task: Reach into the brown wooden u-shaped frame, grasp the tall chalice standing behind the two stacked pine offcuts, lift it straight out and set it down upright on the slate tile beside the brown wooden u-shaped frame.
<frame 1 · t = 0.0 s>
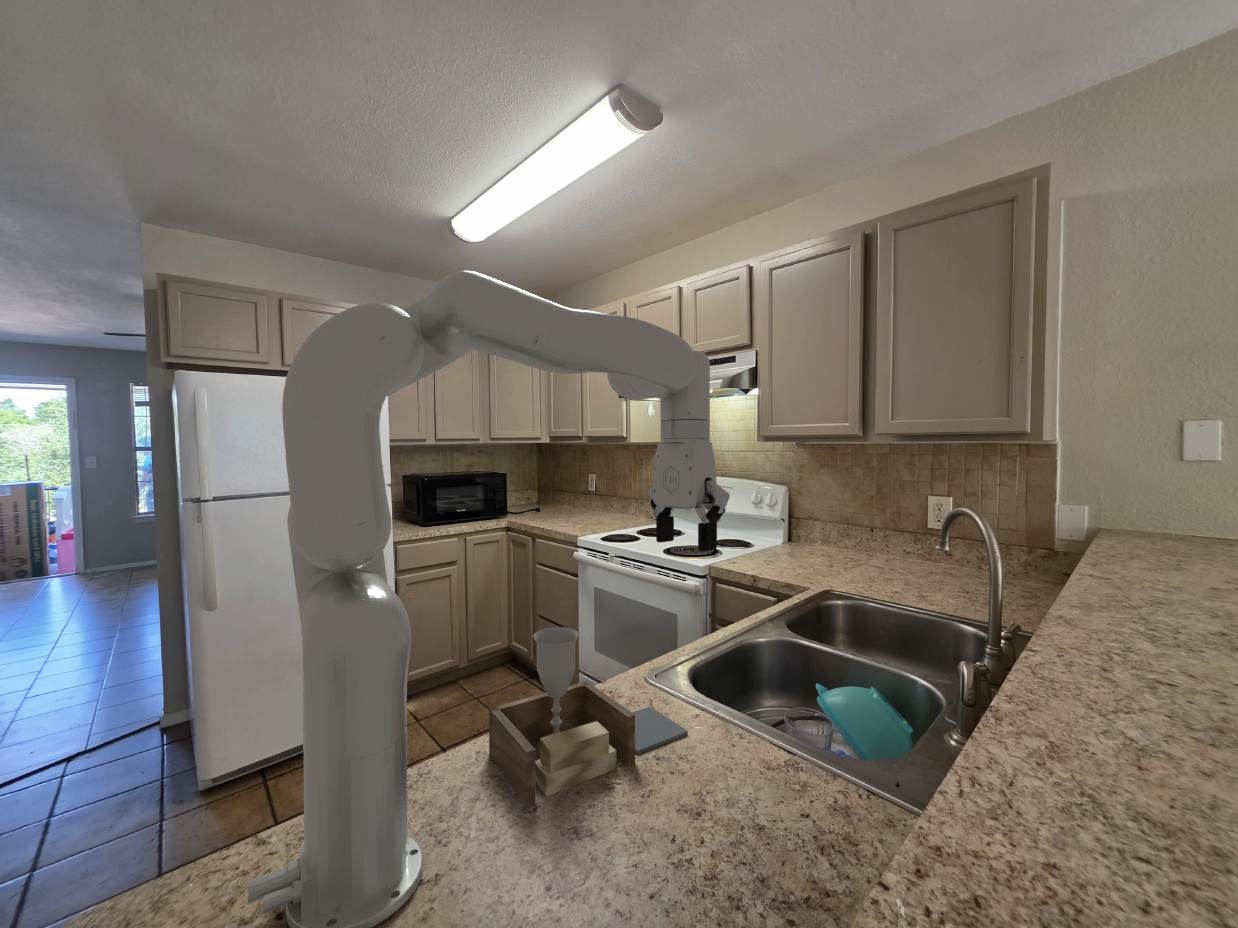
hand: (685, 545, 78), 31 cm above the countertop, tool pointing down, fingers open, 9 cm apart
offcut upper: (574, 756, 72), point 3 cm above the countertop, touching offcut lower
offcut lower: (575, 776, 72), on the countertop, touching offcut upper
chalice: (556, 755, 77), on the countertop
slate tile: (644, 730, 83), on the countertop
brown wooden u-shaped frame: (561, 758, 75), on the countertop
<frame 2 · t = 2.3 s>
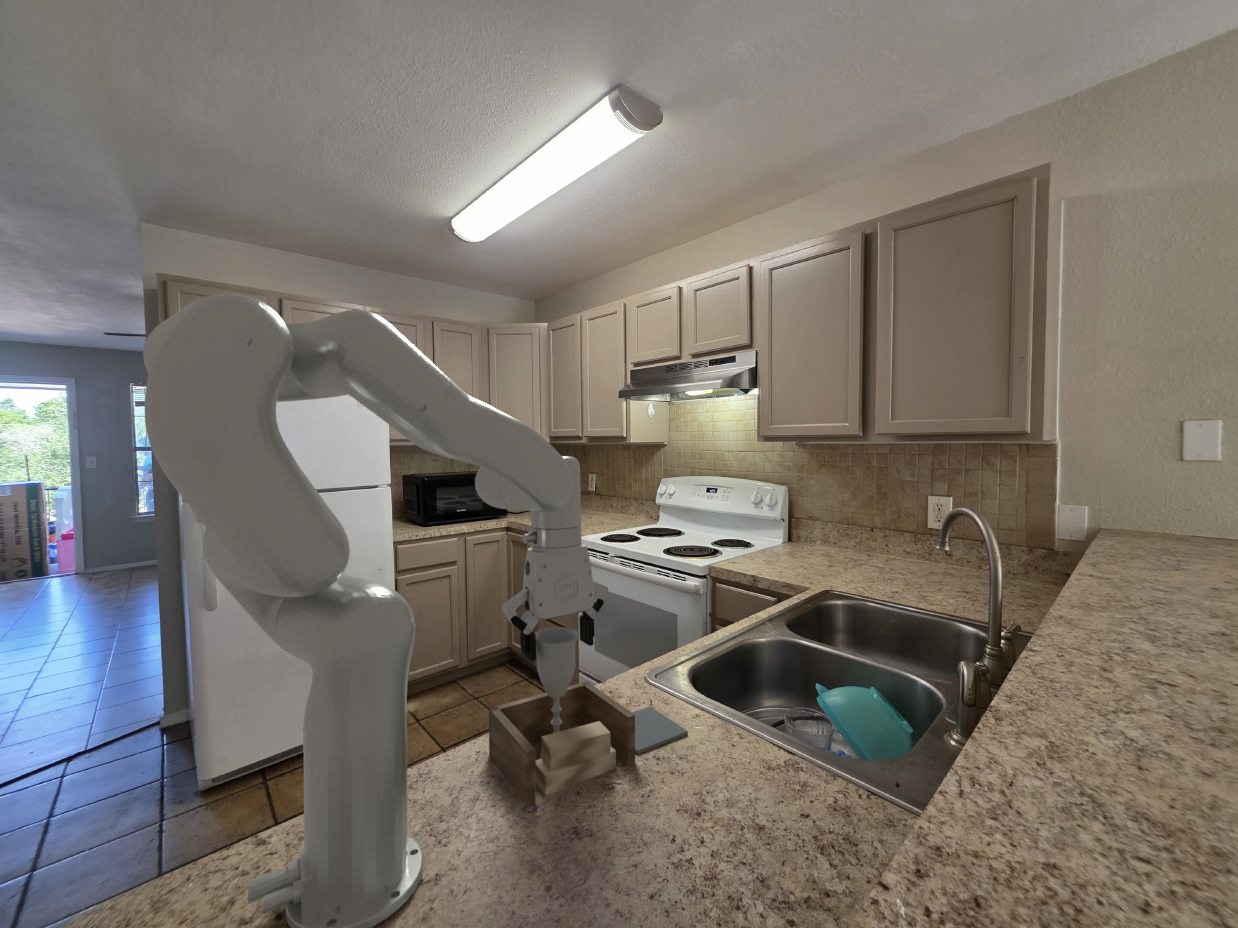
hand: (559, 650, 77), 16 cm above the countertop, tool pointing down, fingers open, 9 cm apart
nothing on the countertop moved.
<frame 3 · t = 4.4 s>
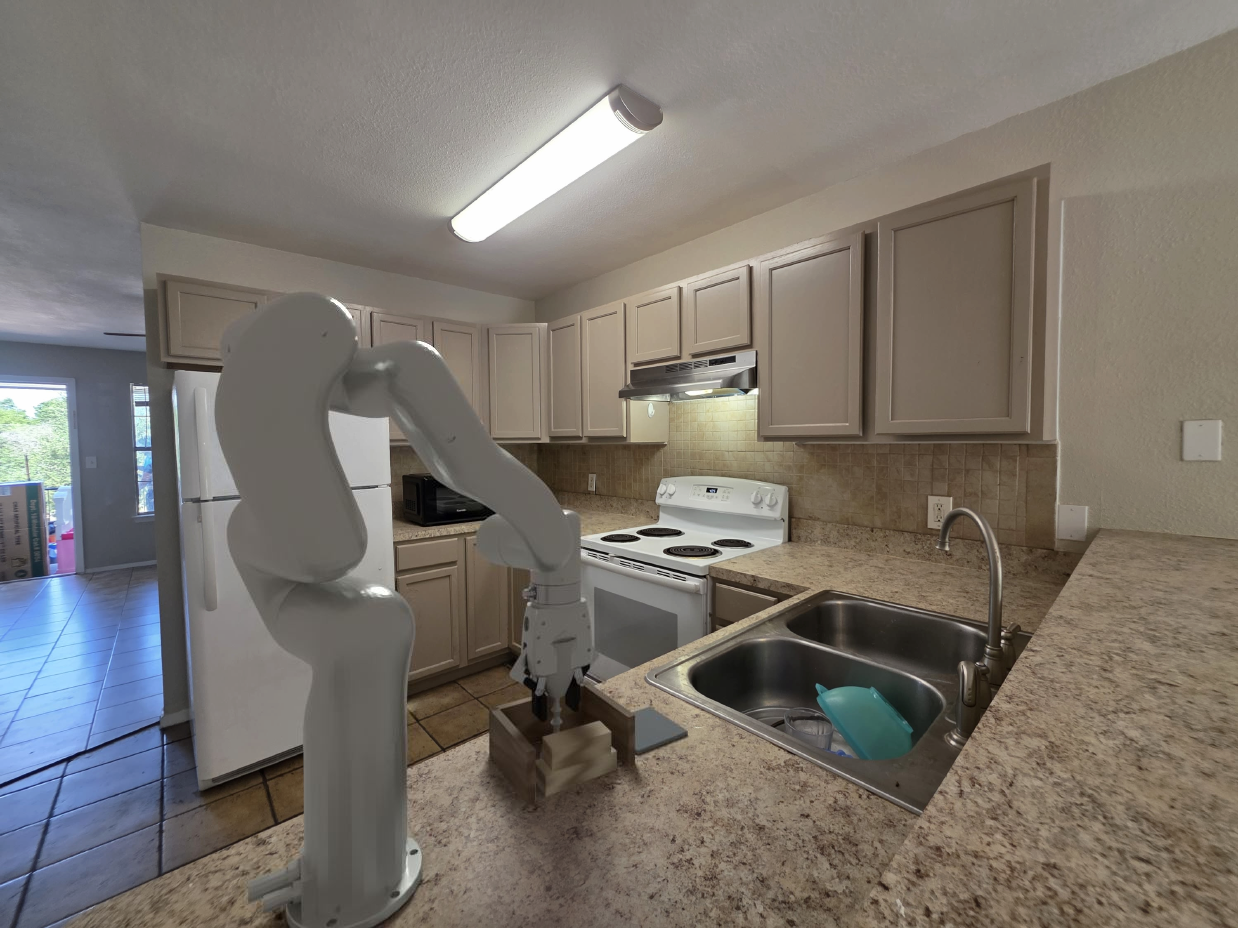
hand: (556, 711, 77), 6 cm above the countertop, tool pointing down, fingers closed on chalice, 4 cm apart
chalice: (556, 755, 77), on the countertop, touching gripper
everything else where it was.
when the fingers open (8 cm above the countertop, at t = 12.6 s): chalice drops 1 cm, resting on slate tile.
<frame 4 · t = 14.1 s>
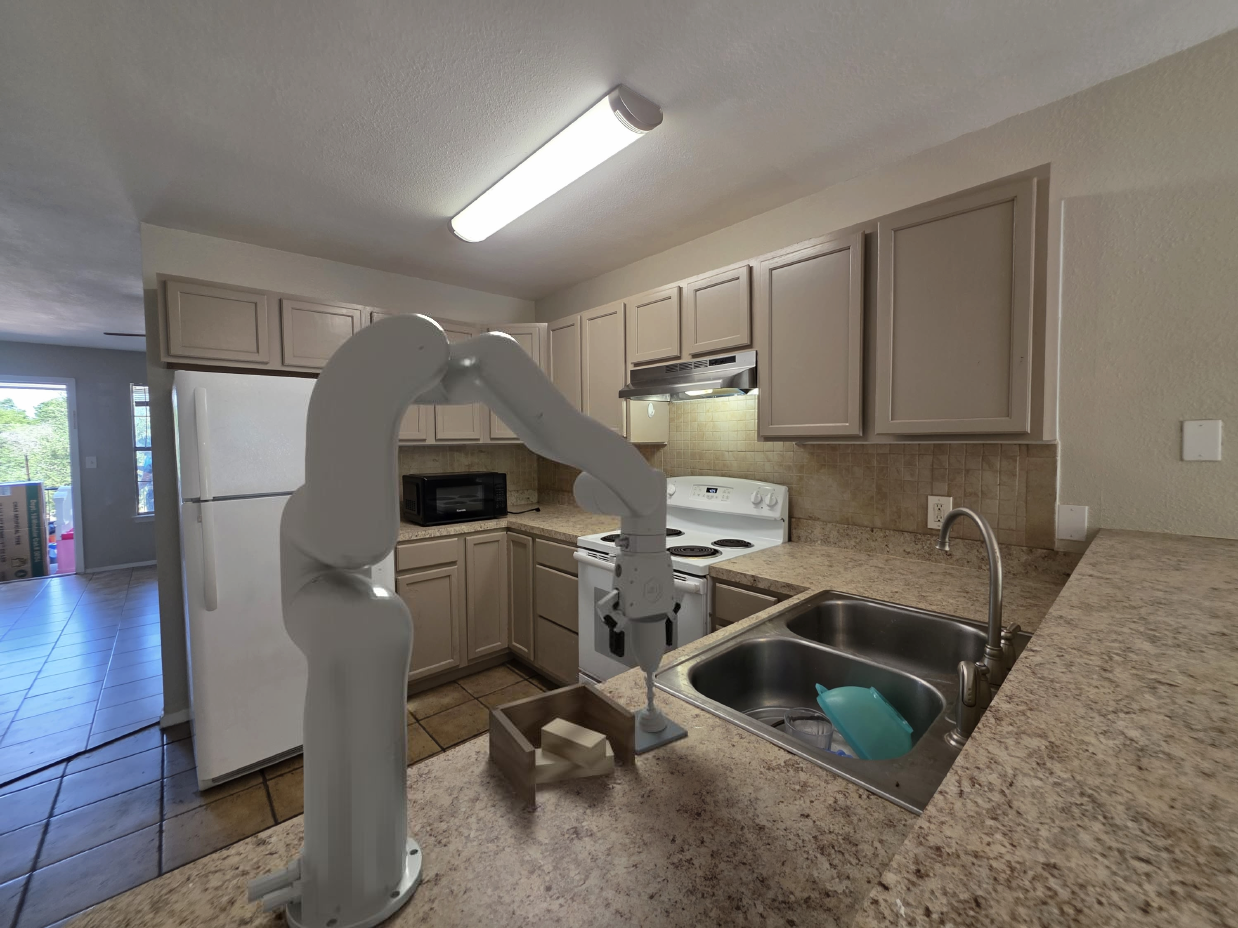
hand: (641, 648, 83), 14 cm above the countertop, tool pointing down, fingers open, 9 cm apart
offcut upper: (573, 752, 73), point 2 cm above the countertop, touching offcut lower
offcut lower: (573, 772, 73), on the countertop, touching offcut upper
chalice: (651, 724, 84), point 1 cm above the countertop, touching slate tile
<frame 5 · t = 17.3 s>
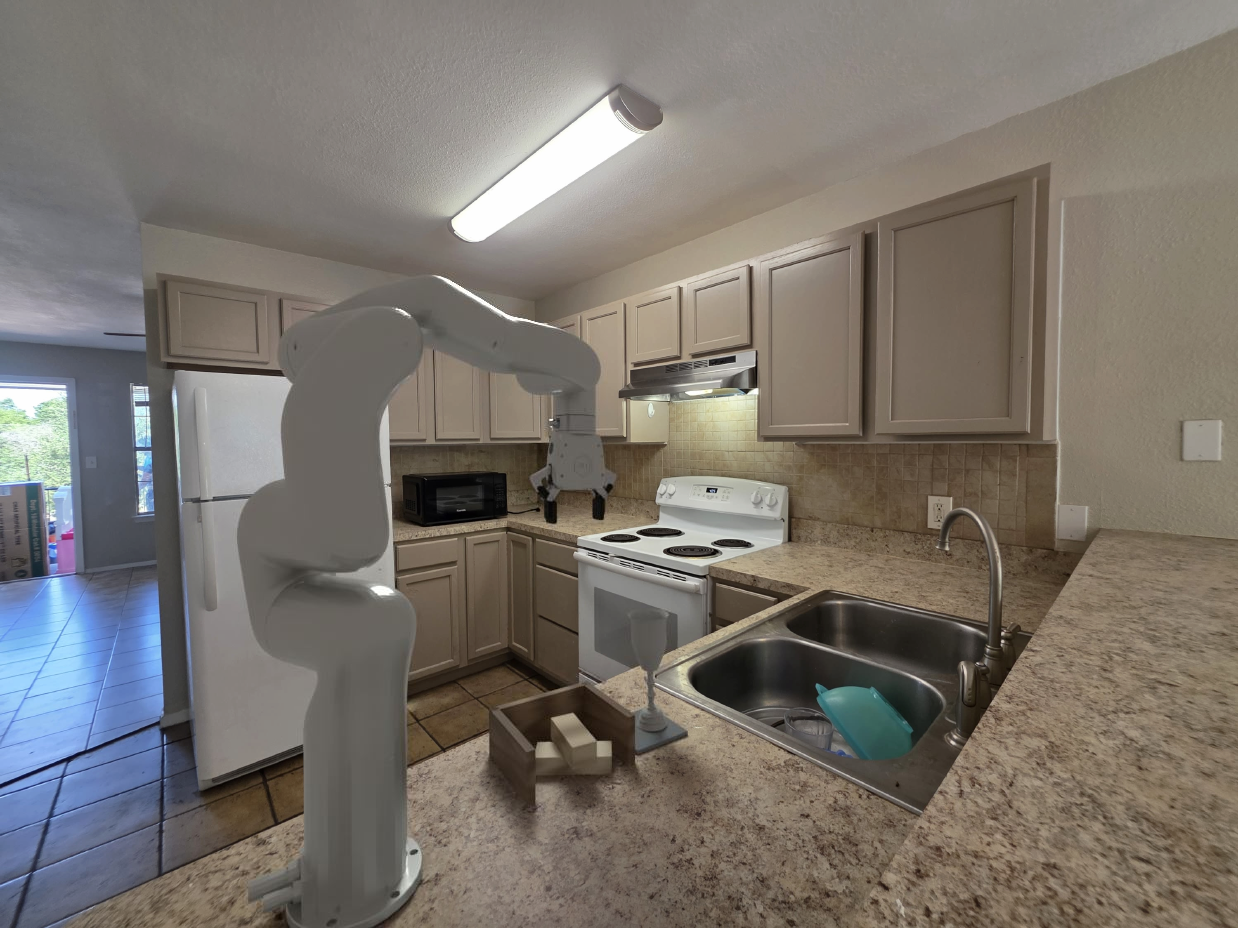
hand: (575, 521, 92), 33 cm above the countertop, tool pointing down, fingers open, 9 cm apart
at the end: chalice 1.5 cm off-centre on the slate tile, point 0.5 cm above the slate tile's base; chalice tilted 2°; offcut upper moved 1.9 cm from its start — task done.
